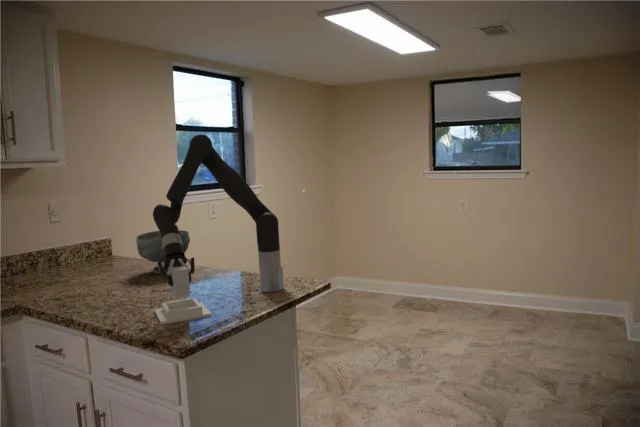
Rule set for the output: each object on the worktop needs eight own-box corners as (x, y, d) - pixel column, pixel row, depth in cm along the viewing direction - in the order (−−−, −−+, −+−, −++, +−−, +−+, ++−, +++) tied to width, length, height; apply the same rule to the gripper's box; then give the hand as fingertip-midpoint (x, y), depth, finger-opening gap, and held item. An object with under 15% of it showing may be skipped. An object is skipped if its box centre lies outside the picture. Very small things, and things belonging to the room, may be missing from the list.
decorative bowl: (186, 262, 293) (182, 226, 290) (198, 271, 270) (194, 233, 267) (136, 271, 281) (131, 234, 278) (144, 281, 259) (139, 241, 256)
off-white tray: (201, 304, 211) (200, 295, 211) (211, 315, 195) (210, 306, 194) (154, 311, 204) (153, 302, 203) (161, 324, 187) (160, 315, 187)
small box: (190, 296, 196) (188, 268, 195) (175, 299, 194) (173, 271, 192) (185, 292, 203) (183, 265, 202) (170, 294, 201) (168, 267, 199)
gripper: (153, 243, 200) (160, 281, 191) (192, 239, 206) (200, 275, 196) (153, 255, 205) (159, 292, 196) (190, 251, 211) (198, 286, 202)
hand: (180, 283), depth 196 cm, fingers closed on small box, 6 cm apart
